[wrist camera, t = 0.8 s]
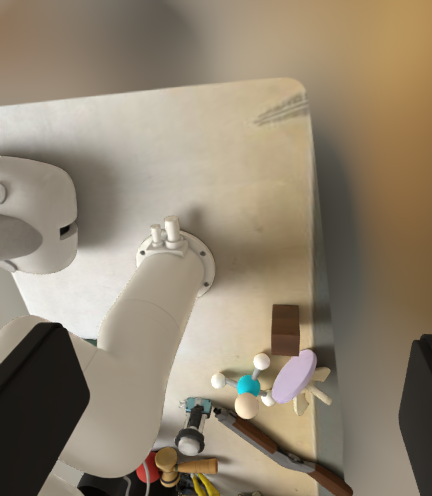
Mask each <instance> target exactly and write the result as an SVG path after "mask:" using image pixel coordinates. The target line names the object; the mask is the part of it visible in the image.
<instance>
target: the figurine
mask: <svg viewBox="0 0 432 496" xmlns="http://www.w3.org/2000/svg"><path fill="white" fill-rule="evenodd" d="M197 474H198V476H199V478H200V479H201V481H202V482H203V483H204V485H205V487H206V489H207V492H208V494H209V495H210V496H221V495H220V493H219V492H218V490H217V489H216V488H215V487H214V486H213V485H212V484H211V482H210V481H209V480H208V479H207V478H206V477H205V476H204V475H203V474H202V473H197ZM190 476H191V478H192V480H193V483H194V488H195V491H196V493H197V494H198V495H199V496H207V495H206V492H205V491H204V490H203V489H202V488H201V487H200V486H199V484H198V481H197V478H196V476H195V473H191V475H190ZM182 496H186V495H182Z"/></svg>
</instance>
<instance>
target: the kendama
mask: <svg viewBox="0 0 432 496" xmlns="http://www.w3.org/2000/svg"><path fill="white" fill-rule="evenodd" d="M177 458H178V457H177V453H176V451H175V449H173V448H171V447H165V448H162V449H161V450H159V451H158V452H157V453H155V452H150V453H149V455H148V456H147V458H146V459H145V462H146V465H147V467H148V470H149V477H150V483H152V482H155V481H156V480H158V479H159V477H160V480H161V483H162V484H163V485H164V486H165V487H172V486H174V485H176V484H177V483H178V481H179V479H180V472H186V473H207V474H209V473H210V474H217V471H218V463H217V459H216V458H213V459H206V460H197V461H188V462H183V463H178V464H176V462H177ZM136 472H137V476H138V477H139V479H140V480H141V481H143V482H145V483H147V476H146V471H145V468H144V465H143V463H142V464H141V465H140V466H139V467H138V468H137V469H136Z"/></svg>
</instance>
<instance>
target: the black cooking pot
mask: <svg viewBox="0 0 432 496" xmlns="http://www.w3.org/2000/svg"><path fill="white" fill-rule="evenodd" d="M126 477H128V478H129V479H130V481H131V485H130V489H129V493H128V496H146V492H147V483H145V482H143V481H141V480H140V479H139V477H138V476H137V472H136V469H135V470H134V471H133V472H131V473H129V474H127V475H126ZM127 487H128V481H127V480H125V479H123V481H122V484H121V486H120V489H119V491H118V494H117V496H126V491H127ZM175 489H176V485H174V486H172V487H165V486H164V485H163V484H162V483H161V480H160V477H159V479H158V480H156V481H155V482H152V483H150V487H149V494H148V496H178V491H176V490H175Z"/></svg>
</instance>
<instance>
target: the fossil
mask: <svg viewBox="0 0 432 496" xmlns="http://www.w3.org/2000/svg"><path fill="white" fill-rule="evenodd" d="M238 496H242V494H239V495H238ZM252 496H261V495H260V493H259V492H258V491H257V492H254V493H253V494H252Z"/></svg>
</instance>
